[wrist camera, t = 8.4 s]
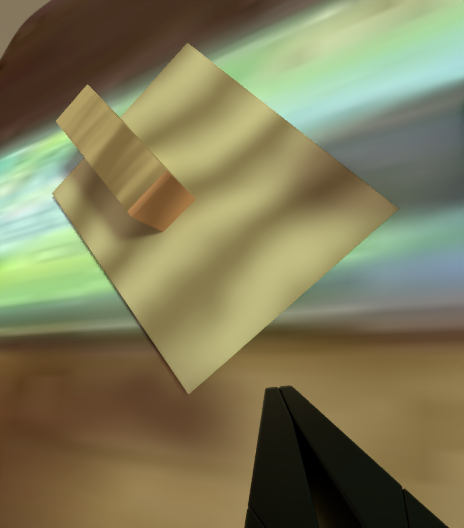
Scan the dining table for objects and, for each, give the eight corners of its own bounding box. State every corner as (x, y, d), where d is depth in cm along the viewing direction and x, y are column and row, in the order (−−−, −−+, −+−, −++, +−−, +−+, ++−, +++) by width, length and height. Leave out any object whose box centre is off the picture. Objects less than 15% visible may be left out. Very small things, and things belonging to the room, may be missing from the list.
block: (171, 175, 15) (87, 84, 18) (131, 217, 16) (55, 121, 19) (195, 199, 19) (122, 120, 22) (163, 232, 19) (95, 150, 22)
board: (394, 211, 16) (398, 209, 15) (192, 391, 18) (188, 394, 17) (190, 49, 22) (187, 42, 21) (57, 195, 24) (52, 193, 23)
